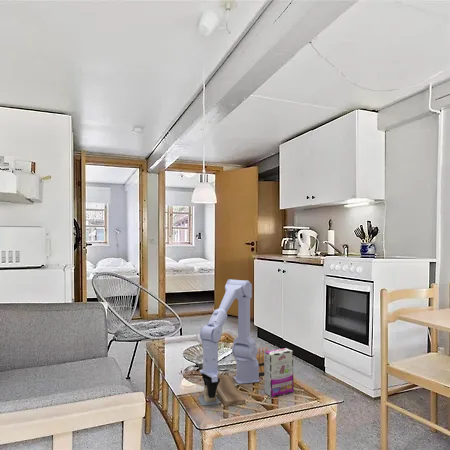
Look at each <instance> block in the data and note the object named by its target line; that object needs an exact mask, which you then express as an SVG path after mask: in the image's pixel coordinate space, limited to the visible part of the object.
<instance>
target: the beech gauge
mask: <svg viewBox="0 0 450 450" xmlns="http://www.w3.org/2000/svg"><path fill="white" fill-rule="evenodd" d="M203 389H204V390H203V397H204V400H205V402H212V401H216V397H217V393H216V394H215V398H209V396H208V389H207V385H204V384H203Z"/></svg>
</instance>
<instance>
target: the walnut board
mask: <svg viewBox="0 0 450 450" xmlns="http://www.w3.org/2000/svg"><path fill="white" fill-rule="evenodd" d="M217 376H218V378H220V382H219V384H218V386H217V390H216V396H218V399H220V400H219V401H220V402H221V403H222V404H223V406H224V407H230V406H234V405H233V404H236V405H235V406H238V405H239V404H241V405H246V404H247V402H246V398H245V397H244V396H243V394H242V393H241V391H240V390H239V389H238V388H237V387H236V385H235V384H234V382H233V381H232V380H231V378H230V377H229V376H228V375H227V374H222V375H221V374H220V375H219V374H218V375H217Z"/></svg>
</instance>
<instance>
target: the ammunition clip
mask: <svg viewBox="0 0 450 450" xmlns="http://www.w3.org/2000/svg"><path fill="white" fill-rule="evenodd" d="M266 351H269V350H268V347H267V346H265V348H264V346H261V348H260V347H258V350H257V355H256V359H257V361H258V364H259V377H260V376H264V352H266Z"/></svg>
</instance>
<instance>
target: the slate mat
mask: <svg viewBox="0 0 450 450" xmlns="http://www.w3.org/2000/svg"><path fill="white" fill-rule="evenodd" d="M197 399H198V401H199V403H200V406H201V407H205V406H206V407H207V406H214V405H220V404H221V401H220V400H219V397H217V396H216V401H212V402H205V400H204V396H198V397H197Z"/></svg>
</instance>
